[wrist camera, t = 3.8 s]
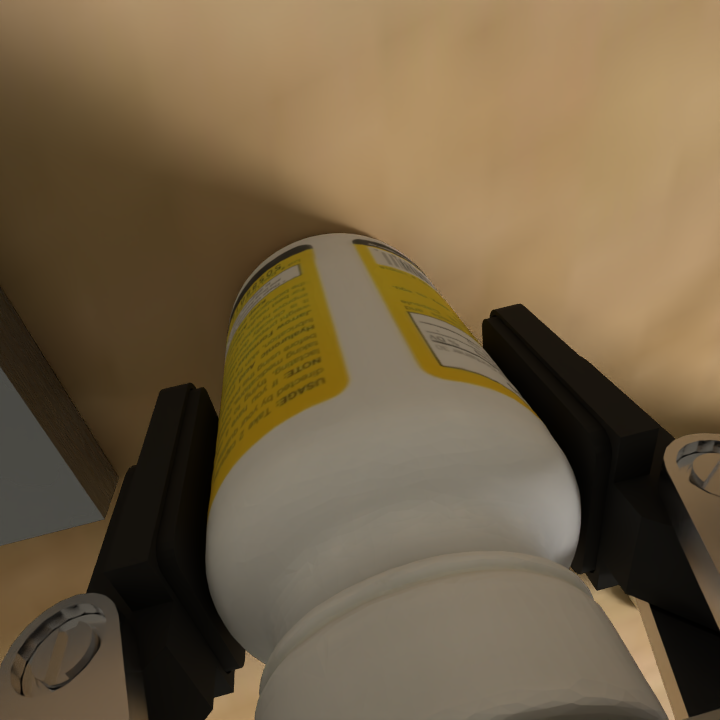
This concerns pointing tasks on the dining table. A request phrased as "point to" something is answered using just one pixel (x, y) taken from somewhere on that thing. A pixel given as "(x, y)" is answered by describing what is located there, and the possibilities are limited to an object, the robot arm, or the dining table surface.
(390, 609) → the supplement bottle
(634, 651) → the dining table surface
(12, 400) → the stand
